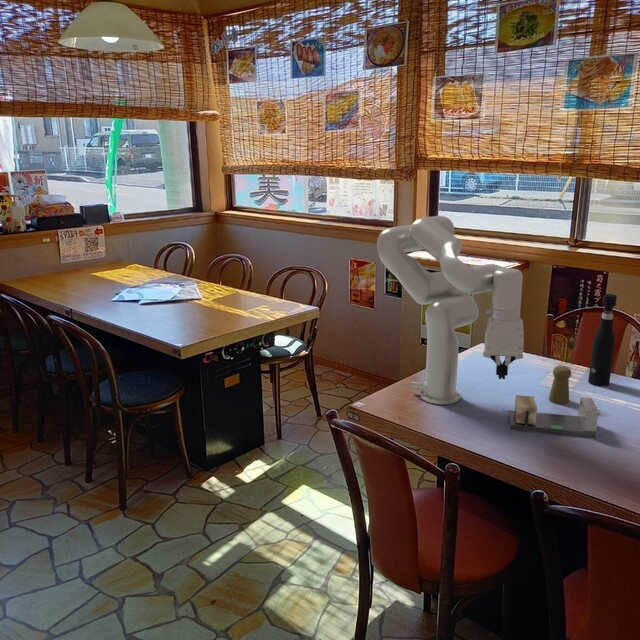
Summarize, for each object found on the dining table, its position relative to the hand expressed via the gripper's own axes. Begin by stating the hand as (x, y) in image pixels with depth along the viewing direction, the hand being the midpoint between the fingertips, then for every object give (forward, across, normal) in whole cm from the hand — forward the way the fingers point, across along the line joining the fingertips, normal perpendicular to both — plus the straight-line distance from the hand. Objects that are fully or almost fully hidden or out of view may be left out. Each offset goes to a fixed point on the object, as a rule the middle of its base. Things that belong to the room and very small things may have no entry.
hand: (501, 377), depth 169 cm
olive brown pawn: (+14, +19, +20) cm, 31 cm away
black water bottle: (+14, +34, +38) cm, 53 cm away
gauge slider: (+12, +7, 0) cm, 14 cm away
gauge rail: (+14, +14, +1) cm, 20 cm away
